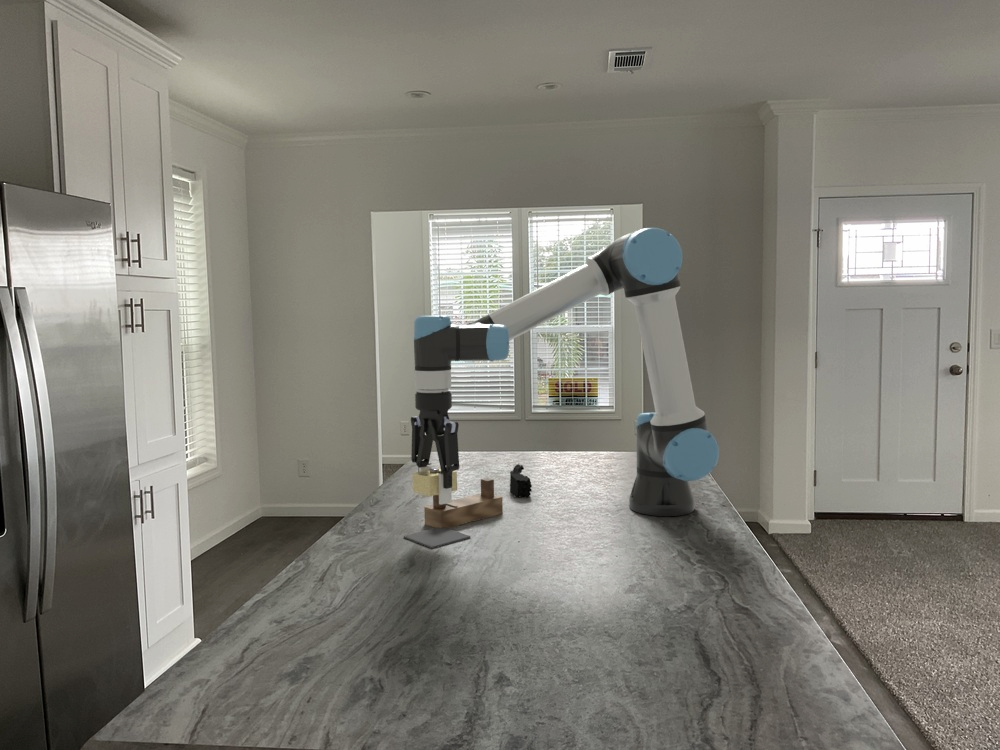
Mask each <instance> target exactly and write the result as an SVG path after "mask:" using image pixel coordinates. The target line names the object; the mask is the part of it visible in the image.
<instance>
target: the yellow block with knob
mask: <svg viewBox="0 0 1000 750" xmlns="http://www.w3.org/2000/svg"><path fill="white" fill-rule="evenodd" d="M438 471H441V468H440V467H438V468H432V469H430V470H427V471H421V472H412V490H413V491H412V492H413V493H416V494H418V495H420V494H423V495H428V496H431V497H433V495H438V494H439V478H438ZM457 472H458V470H455V471H453V472H452V488H451V493H452V492H456V491H458V476H457V475H458V473H457Z"/></svg>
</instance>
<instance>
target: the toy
mask: <svg viewBox="0 0 1000 750" xmlns="http://www.w3.org/2000/svg"><path fill="white" fill-rule="evenodd" d="M523 470H525V468H524V465H523V464H519V463H518V464H515V466H514V467H513V469H512V470H511V471H509V474H510V476H509V478H510V480H509V492H510V493H511V495H513V496H514V497H515V498H516V499H518V498H526V497H527V498H529V497H530V496H531V492H532V487H533V486H532V482H531V478H530V477H528V476H527V475H524V474H523V473H522V472H523Z"/></svg>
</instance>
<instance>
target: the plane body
mask: <svg viewBox="0 0 1000 750" xmlns="http://www.w3.org/2000/svg"><path fill="white" fill-rule="evenodd" d="M503 505H504V504H503V496H501V495H496V494H495V480H494V478H489V477H486V478H480V493H477V494H473V495H469V496H464V497H459V498H456V499H452V502H451V503H447V504H442V505H440V504H439V494H438V495H433V496H432V504H430V505H426V506H424V510H423V511H424V512H423V513H424V525H426V526H429V527H432V528H434V527H435V528H436V527H439V528H443V527H446V528H449V527H450V528H453V526H454V527H457V526H460V524H461V525H464V524H463V523H465V524H467V522H469V523H472V522H471V521H473V522H476V521H475V520H477V521H479V519H480V520H484V519H488V518H492V517H495V516H498V515H499V516H500V515H503V513H504V512H503V511H504V509H503ZM487 517H488V518H487ZM483 518H484V519H483ZM450 528H449V529H450Z"/></svg>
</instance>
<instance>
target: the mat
mask: <svg viewBox="0 0 1000 750" xmlns="http://www.w3.org/2000/svg"><path fill="white" fill-rule="evenodd" d="M467 538H469V539H471V536H470V535H468V534H465V533H462V532H459V531H457V530H454V529H451V528H446V527H443V528H439V527H436V528H434V527H432V528H429V529H426V530H421V531H418V532H413V533H410V534H406V535H403V539H406V540H408V541H411V542H413V543H416V544H418V543H419V544H418V545H421V546H423V545H424V547H426V546H427V548H428V547H429V548H428V549H431V548H433V549H436V548H435V547H437V548H439V547H438V546H440V547H443V546H442V545H444V546H446V545H445V544H447V545H450V544H449V543H451V544H454V543H457V542H456V541H458V542H461V541H460V540H462V541H464V540H463V539H465V540H468V539H467ZM453 542H454V543H453Z"/></svg>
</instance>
